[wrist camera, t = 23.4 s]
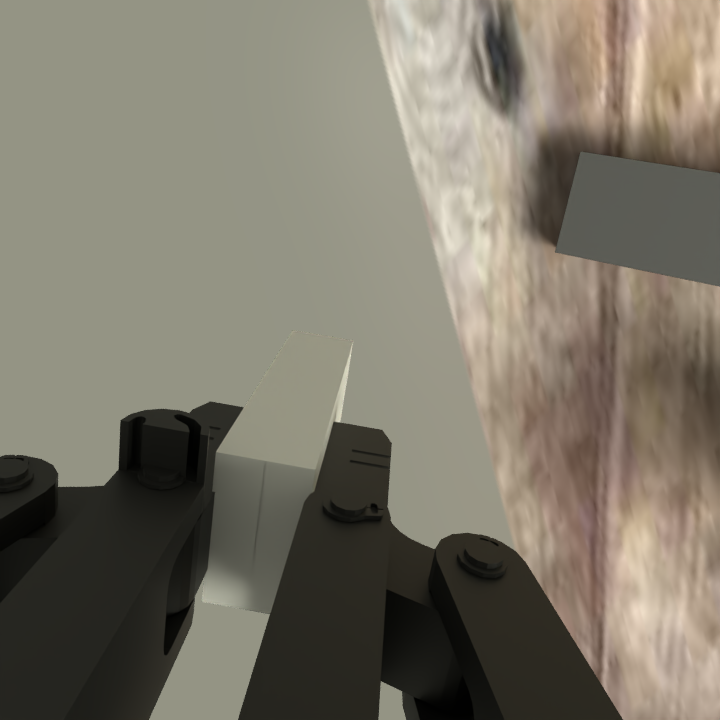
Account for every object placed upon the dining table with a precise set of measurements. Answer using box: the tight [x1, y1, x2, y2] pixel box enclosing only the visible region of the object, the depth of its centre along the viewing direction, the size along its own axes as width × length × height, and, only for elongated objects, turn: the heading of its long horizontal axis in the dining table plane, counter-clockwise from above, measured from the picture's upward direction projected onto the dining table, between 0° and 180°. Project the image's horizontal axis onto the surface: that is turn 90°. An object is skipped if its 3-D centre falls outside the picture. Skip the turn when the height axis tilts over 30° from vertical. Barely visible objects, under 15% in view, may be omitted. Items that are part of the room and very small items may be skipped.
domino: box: [555, 152, 720, 286], centre depth 38 cm, size 6×2×12 cm
